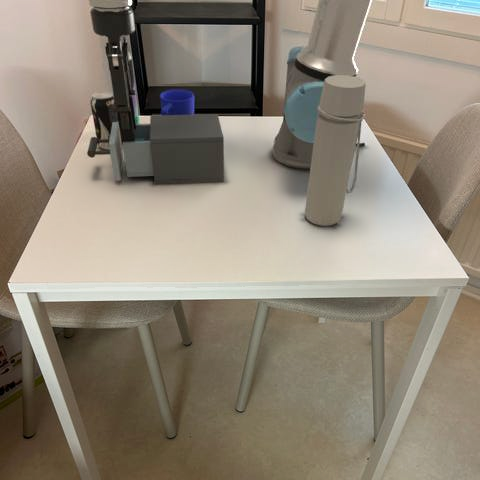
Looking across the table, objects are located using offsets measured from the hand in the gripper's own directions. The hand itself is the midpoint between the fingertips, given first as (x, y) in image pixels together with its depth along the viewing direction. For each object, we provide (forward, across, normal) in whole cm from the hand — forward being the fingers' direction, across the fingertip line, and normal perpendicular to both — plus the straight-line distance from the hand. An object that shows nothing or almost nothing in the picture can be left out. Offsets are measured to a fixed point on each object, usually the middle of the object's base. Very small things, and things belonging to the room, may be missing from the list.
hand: (129, 135), depth 101 cm
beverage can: (+8, -14, -6) cm, 17 cm away
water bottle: (+8, +23, +38) cm, 45 cm away
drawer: (+7, 0, +1) cm, 7 cm away
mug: (+8, -17, +10) cm, 21 cm away
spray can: (+8, -25, -2) cm, 26 cm away
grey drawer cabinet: (+8, 0, +12) cm, 14 cm away
